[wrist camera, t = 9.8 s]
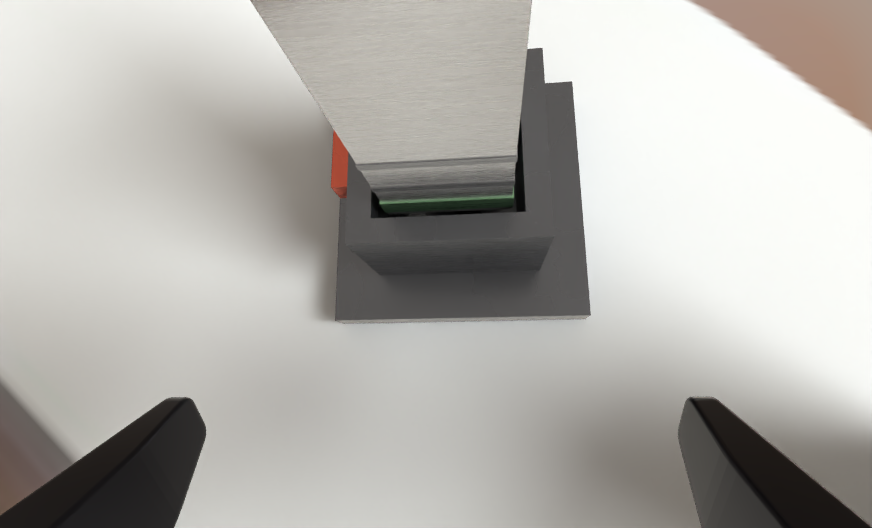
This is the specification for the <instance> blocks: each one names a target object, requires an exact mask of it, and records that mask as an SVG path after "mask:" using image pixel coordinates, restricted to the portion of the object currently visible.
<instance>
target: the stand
mask: <svg viewBox="0 0 872 528" xmlns="http://www.w3.org/2000/svg"><path fill="white" fill-rule="evenodd" d="M517 152H518V159H517V162H516V165H515V185H514V203H513V207H511V209H494V210H472V211H450V212H427V213H405V214H388V213H385V212H384V210H383V209H382V207H381V206H380V200H379V198H378V197H377V195H376V194H375V192H372V190H371V189H370V185H369V183H368V181H367V180H366V178H365V177H364V175H363V174H362V172H361V171H359V170H358V169H357V167H356V163H355V161H354V160H353V158H352V157H351V155H350V154H349V152H348V151H347V149H346V147H345V146H344V144H343V143H342V141H341V140H340V138H339V137H338V135H337V134H336V132H335V130H334V132H333V154H332V176H331V188H332V189H333V190H334V191H335V193H336V194H337V195H338V196H339V197H340V217H339V241H338V266H337V290H336V315H335V321H338V322H341V323H344V324H354V323H405V322H456V321H507V320H558V319H586V318H587V317H589V316H590V315H591V314H590V301H589V289H588V276H587V263H586V251H585V238H584V226H583V213H582V200H581V188H580V175H579V163H578V150H577V138H576V125H575V112H574V100H573V87H572V82H560V83H546V84H545V81H544V65H543V50H542V48H536V49H527V56H526V66H525V75H524V85H523V95H522V105H521V115H520V125H519V135H518V145H517Z"/></svg>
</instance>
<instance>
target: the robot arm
mask: <svg viewBox="0 0 872 528" xmlns="http://www.w3.org/2000/svg"><path fill="white" fill-rule="evenodd" d="M205 437H206V426H205V424H204V422H203V419H202V417H201V415H200V413H199V411H198V409H197V407H196V405H195V403H194V402H193V400H192V399H190V398H187V397H171V398H168V399H165V400H164V401H162V402H161V403H159V404H158V405H157V406H155V407H154V408H152V409H151V410H149V411H148V412H147V413H145V414H144V415H142V416H141V417H140V418H138V419H137V420H135V421H134V422H132V423H131V424H130V425H128V426H127V427H125V428H124V429H122V430H121V431H120V432H118V433H117V434H115V435H114V436H113V437H111V438H110V439H108V440H107V441H105V442H104V443H103V444H101V445H100V446H98V447H97V448H95V449H94V450H93V451H91V452H90V453H88V454H87V455H86V456H84V457H83V458H81V459H80V460H78V461H77V462H76V463H74V464H73V465H71V466H70V467H68V468H67V469H66V470H64V471H63V472H61V473H60V474H59V475H57V476H56V477H54V478H53V479H51V480H50V481H49V482H47V483H46V484H44V485H43V486H41V487H40V488H39V489H37V490H36V491H34V492H33V493H31V494H30V495H29V496H27V497H26V498H24V499H23V500H22V501H20V502H19V503H17V504H16V505H14V506H13V507H12V508H10V509H9V510H7V511H6V512H4V513H3V514H2V515H0V528H174V526H175V524H176V521H177V519H178V517H179V514H180V511H181V509H182V506H183V503H184V500H185V497H186V494H187V491H188V488H189V485H190V482H191V479H192V476H193V473H194V471H195V468H196V465H197V462H198V459H199V456H200V453H201V450H202V447H203V444H204V441H205ZM678 439H679V444H680V448H681V452H682V455H683V459H684V463H685V467H686V470H687V474H688V478H689V482H690V486H691V489H692V493H693V497H694V501H695V504H696V508H697V512H698V516H699V519H700V523H701V526H702V528H872V526H871V525H869V524H868V523H867V522H866V521H864V520H863V519H862V518H861V517H860V516H858V515H857V514H856V513H855V512H854V511H852V510H851V509H850V508H849V507H847V506H846V505H845V504H844V503H843V502H841V501H840V500H839V499H838V498H836V497H835V496H834V495H833V494H832V493H830V492H829V491H828V490H827V489H826V488H824V487H823V486H822V485H821V484H819V483H818V482H817V481H816V480H815V479H813V478H812V477H811V476H810V475H809V474H807V473H806V472H805V471H804V470H802V469H801V468H800V467H799V466H798V465H796V464H795V463H794V462H793V461H792V460H790V459H789V458H788V457H787V456H785V455H784V454H783V453H782V452H781V451H779V450H778V449H777V448H776V447H775V446H773V445H772V444H771V443H770V442H768V441H767V440H766V439H765V438H764V437H762V436H761V435H760V434H759V433H758V432H756V431H755V430H754V429H753V428H751V427H750V426H749V425H748V424H747V423H745V422H744V421H743V420H742V419H740V418H739V417H738V416H737V415H736V414H734V413H733V412H732V411H731V410H730V409H728V408H727V407H726V406H725V405H723V404H722V403H721V402H720V401H719V400H717V399H715V398H713V397H689V398H688V399H687V400H686V402H685V405H684V409H683V413H682V416H681V420H680V424H679V429H678Z"/></svg>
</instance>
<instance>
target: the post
mask: <svg viewBox="0 0 872 528" xmlns="http://www.w3.org/2000/svg"><path fill="white" fill-rule="evenodd" d="M250 1H251V2H252V4H253V5H254V7H255V8H256V10H257V12H258V13H259V15H260V16H261V18H262V19H263V21H264V22H265V24H266V25H267V27H268V29H269V30H270V32H271V33H272V35H273V36H274V38H275V39H276V41H277V42H278V44H279V46H280V47H281V49H282V50H283V52H284V53H285V55H286V56H287V58H288V59H289V61H290V63H291V64H292V66H293V67H294V69H295V70H296V72H297V73H298V75H299V76H300V78H301V80H302V81H303V83H304V84H305V86H306V87H307V89H308V90H309V92H310V93H311V95H312V96H313V98H314V100H315V101H316V103H317V104H318V106H319V107H320V109H321V110H322V112H323V113H324V115H325V117H326V118H327V120H328V121H329V123H330V124H331V126H332V127H333V129H334V130H335V132H336V134H337V135H338V137H339V138H340V140H341V141H342V143H343V144H344V146H345V147H346V149H347V151H348V152H349V154H350V155H351V157H352V158H353V160H354V161H355V163H356V167H357V169H358V170H359V171H361V172H362V174H363V175H364V177H365V178H366V180H367V181H368V183H369V185H370V189H371V190H372V192H375V194H376V195H377V197H378V198H379V200H380V206H381V207H382V209H383V210H384V212H385V213H388V214H405V213H427V212H450V211H472V210H494V209H511V207H513V203H514V185H515V165H516V162H517V159H518V152H517V145H518V135H519V125H520V115H521V105H522V95H523V85H524V75H525V66H526V56H527V46H528V36H529V26H530V16H531V6H532V0H250Z"/></svg>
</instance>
